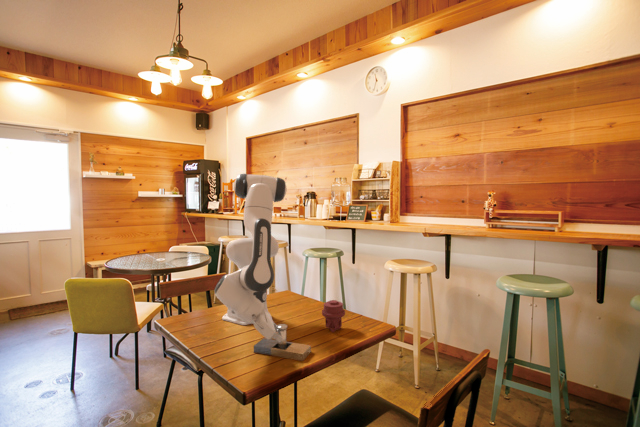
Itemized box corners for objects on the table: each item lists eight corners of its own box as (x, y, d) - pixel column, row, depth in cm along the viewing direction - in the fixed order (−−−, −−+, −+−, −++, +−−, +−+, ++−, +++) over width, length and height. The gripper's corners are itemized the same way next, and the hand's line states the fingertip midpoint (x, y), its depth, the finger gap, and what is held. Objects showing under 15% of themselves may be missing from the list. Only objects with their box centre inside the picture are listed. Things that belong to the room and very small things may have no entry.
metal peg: (274, 353, 123) (274, 327, 122) (279, 348, 126) (279, 323, 126) (284, 355, 121) (284, 328, 121) (289, 350, 125) (289, 324, 125)
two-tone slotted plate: (253, 352, 124) (253, 345, 124) (264, 344, 131) (263, 338, 131) (302, 360, 117) (302, 354, 117) (310, 351, 124) (310, 345, 124)
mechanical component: (346, 325, 149) (343, 334, 139) (324, 324, 151) (320, 333, 141) (346, 298, 148) (343, 305, 139) (324, 297, 150) (319, 304, 141)
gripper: (260, 314, 111) (289, 339, 114) (256, 296, 131) (281, 318, 134) (246, 328, 110) (276, 353, 113) (245, 309, 130) (270, 331, 133)
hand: (279, 334), depth 123 cm, fingers open, 8 cm apart
